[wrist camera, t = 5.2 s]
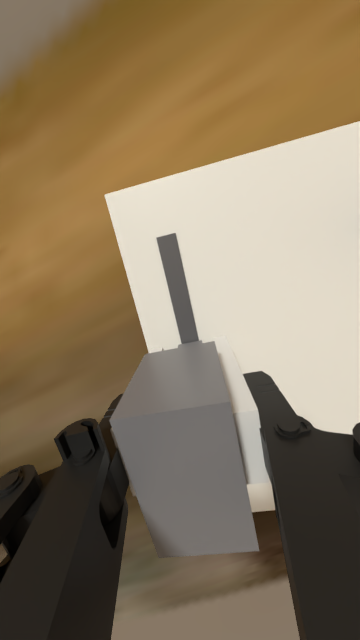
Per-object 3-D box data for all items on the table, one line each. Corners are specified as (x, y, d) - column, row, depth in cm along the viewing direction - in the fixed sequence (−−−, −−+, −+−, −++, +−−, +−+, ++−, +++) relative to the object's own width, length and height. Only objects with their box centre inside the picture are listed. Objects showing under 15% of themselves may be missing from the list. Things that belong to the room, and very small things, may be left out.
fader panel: (195, 483, 22) (195, 518, 19) (121, 207, 15) (103, 194, 12) (389, 461, 19) (424, 497, 16) (393, 132, 13) (451, 93, 10)
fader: (179, 389, 15) (158, 557, 6) (161, 322, 14) (109, 419, 5) (221, 382, 15) (259, 551, 6) (207, 313, 14) (230, 401, 5)
